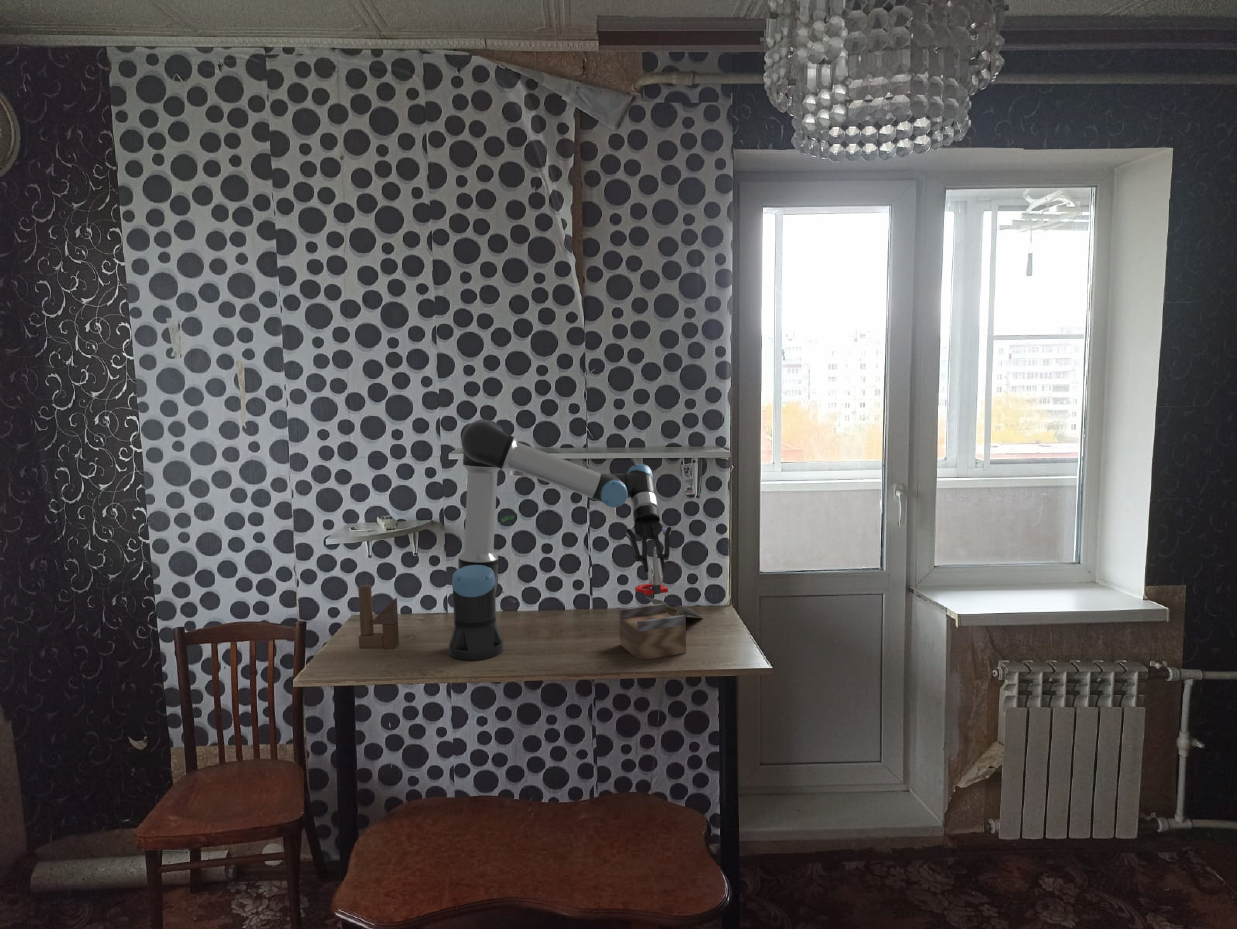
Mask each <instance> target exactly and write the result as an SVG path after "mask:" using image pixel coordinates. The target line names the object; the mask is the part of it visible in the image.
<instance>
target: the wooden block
mask: <svg viewBox="0 0 1237 929" xmlns="http://www.w3.org/2000/svg"><path fill="white" fill-rule="evenodd" d="M357 590H358V591H357V592H358V609H359V624H360V625H359V626H360V628H359V629H360V635H358V647H359V649H396V648H397V647H399V645H400V636H399V633H400V632H399V615H398V614H399V613H398V612H399V611H398V597H395V598H394V599H392V600H391V601H390V602H389V603H388V604H387V605H386V606H385V607H384V609H382V611H381V612H380V613H378V615H377V616H376V617H375V618H374V615H373V614H374V613H373V596H372V595H373V592H372V585H371V584H361V585H359V586H358V587H357ZM374 625H381V626H382V632H374Z"/></svg>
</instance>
